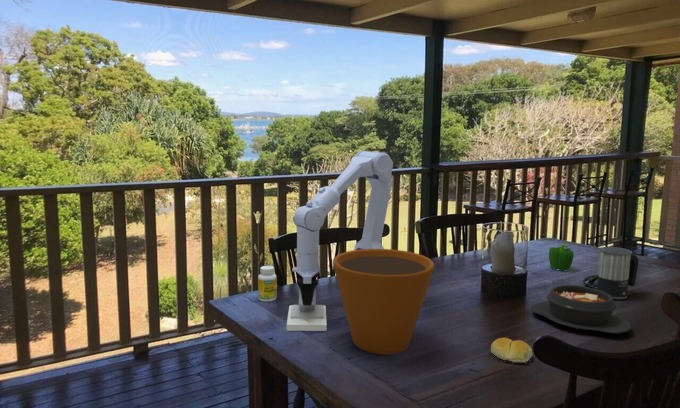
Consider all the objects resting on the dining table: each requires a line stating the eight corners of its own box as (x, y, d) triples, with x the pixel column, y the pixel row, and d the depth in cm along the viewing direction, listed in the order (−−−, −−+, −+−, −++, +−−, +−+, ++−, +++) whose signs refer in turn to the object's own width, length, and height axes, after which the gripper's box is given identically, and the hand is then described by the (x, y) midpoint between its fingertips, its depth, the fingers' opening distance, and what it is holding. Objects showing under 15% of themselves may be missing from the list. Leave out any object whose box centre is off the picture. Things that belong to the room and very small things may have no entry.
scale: (325, 311, 147) (325, 303, 146) (326, 330, 133) (326, 322, 133) (289, 310, 146) (289, 303, 146) (286, 330, 132) (286, 322, 132)
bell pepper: (545, 266, 199) (547, 240, 197) (568, 267, 198) (570, 241, 196) (550, 272, 191) (553, 245, 189) (574, 273, 190) (577, 246, 188)
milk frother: (620, 303, 159) (625, 255, 156) (569, 289, 171) (573, 245, 168) (638, 293, 168) (643, 248, 166) (589, 281, 180) (593, 239, 177)
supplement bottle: (271, 294, 160) (271, 264, 158) (279, 300, 155) (279, 268, 154) (255, 297, 157) (255, 266, 155) (263, 303, 152) (262, 270, 151)
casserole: (518, 319, 144) (521, 289, 143) (546, 303, 157) (549, 276, 156) (617, 347, 127) (621, 314, 126) (639, 327, 140) (643, 296, 139)
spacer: (315, 305, 143) (315, 284, 142) (315, 311, 139) (315, 289, 138) (299, 305, 143) (299, 283, 142) (298, 311, 138) (298, 289, 137)
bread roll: (496, 345, 127) (497, 330, 126) (534, 355, 122) (536, 338, 121) (485, 358, 120) (486, 341, 119) (525, 368, 115) (527, 351, 114)
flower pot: (448, 356, 120) (453, 271, 117) (348, 368, 113) (350, 278, 110) (406, 318, 142) (409, 246, 139) (320, 326, 135) (322, 251, 132)
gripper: (293, 245, 145) (293, 292, 147) (291, 259, 131) (291, 311, 133) (319, 245, 146) (318, 293, 148) (319, 259, 131) (319, 311, 133)
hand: (307, 301), depth 140 cm, fingers closed on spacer, 4 cm apart
